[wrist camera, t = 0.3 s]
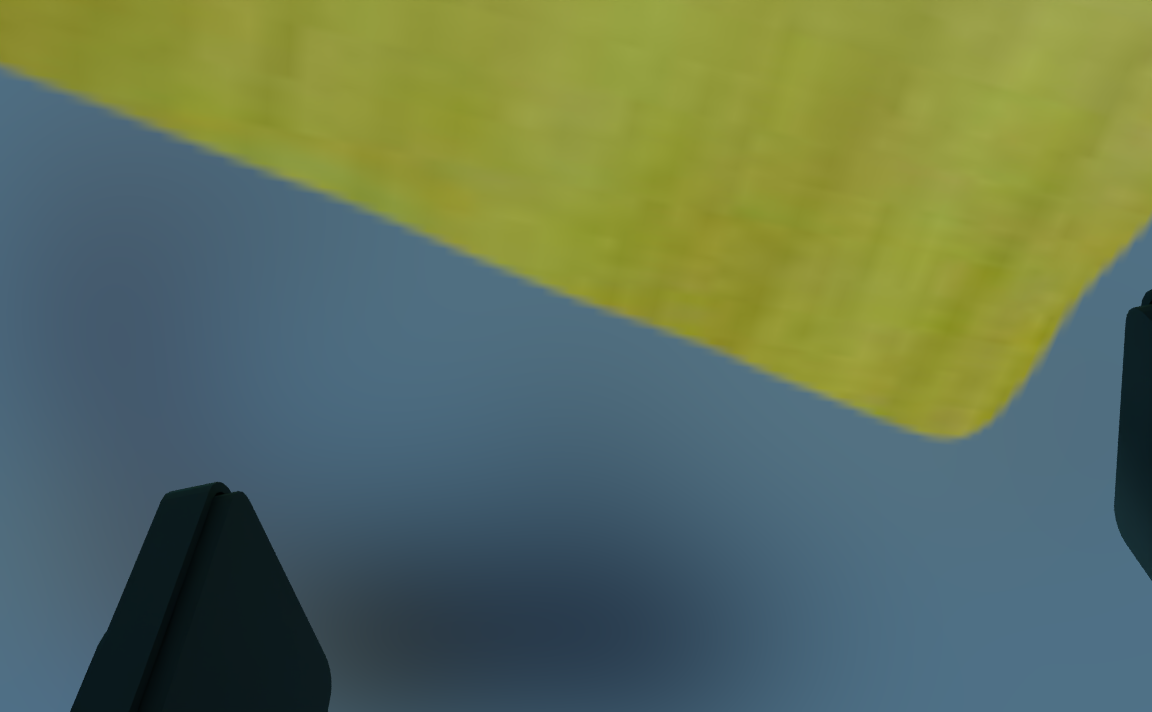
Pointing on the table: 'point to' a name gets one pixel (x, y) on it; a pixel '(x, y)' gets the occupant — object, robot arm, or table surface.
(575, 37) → the table surface
